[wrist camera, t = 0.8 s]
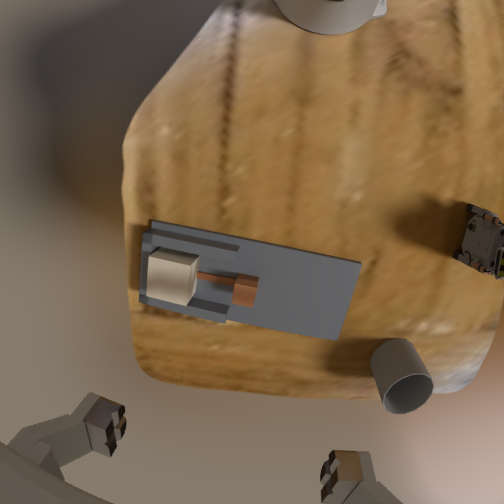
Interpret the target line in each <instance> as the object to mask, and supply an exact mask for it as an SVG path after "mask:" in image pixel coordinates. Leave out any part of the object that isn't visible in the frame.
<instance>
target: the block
mask: <svg viewBox="0 0 504 504" xmlns="http://www.w3.org/2000/svg"><path fill="white" fill-rule="evenodd" d="M199 261H200V255H197V254H192V253H188V252H183V251H178V250H174V249H169V248H165V247H161V248H159V249H158V250H157V251H155V252H154V253H153V254H151V255H150V256H149V260H148V275H147V293H146V296H148V297H152V298H156V299H160V300H164V301H168V302H171V303H175V304H179V305H184V306H186V305H187V304H188V302H189V301H190V299H191V298H192V296H193V295H194V293H195V292H196V284H197V278H198V279H202V280H207V281H211V282H216V283H220V284H225V285H229V286H234V291H233V296H232V302H231V303H233V304H237V305H242V306H247V307H252V308H253V305H254V301H255V297H256V292H257V287H258V282H259V277H256V276H251V275H247V274H242V273H239V274H238V277H237V279H235V278H230V277H225V276H221V275H216V274H211V273H207V272H202V271H198V268H199Z"/></svg>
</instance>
